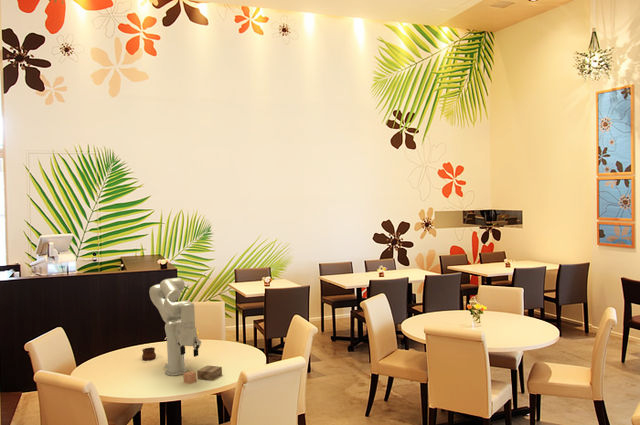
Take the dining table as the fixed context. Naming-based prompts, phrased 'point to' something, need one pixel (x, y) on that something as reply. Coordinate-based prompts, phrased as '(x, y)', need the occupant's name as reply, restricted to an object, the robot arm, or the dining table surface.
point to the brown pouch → (148, 354)
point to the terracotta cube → (189, 377)
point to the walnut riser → (209, 372)
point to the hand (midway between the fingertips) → (189, 355)
